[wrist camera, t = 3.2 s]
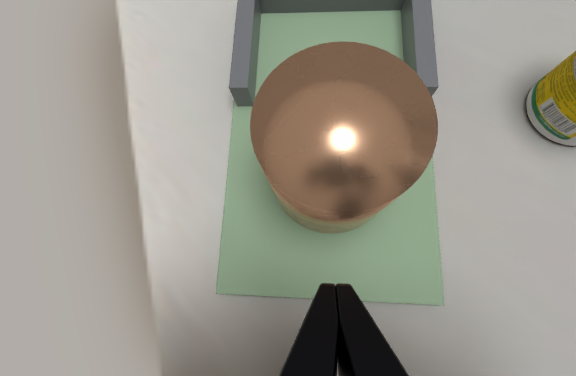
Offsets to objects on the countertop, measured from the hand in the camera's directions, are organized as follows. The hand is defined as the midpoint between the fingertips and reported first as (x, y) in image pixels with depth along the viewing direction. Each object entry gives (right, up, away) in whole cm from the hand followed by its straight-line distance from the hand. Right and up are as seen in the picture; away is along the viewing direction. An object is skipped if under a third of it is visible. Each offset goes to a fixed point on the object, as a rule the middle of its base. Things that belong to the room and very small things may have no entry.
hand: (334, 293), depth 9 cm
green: (+2, +7, +13) cm, 15 cm away
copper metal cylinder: (+1, +4, +12) cm, 12 cm away
